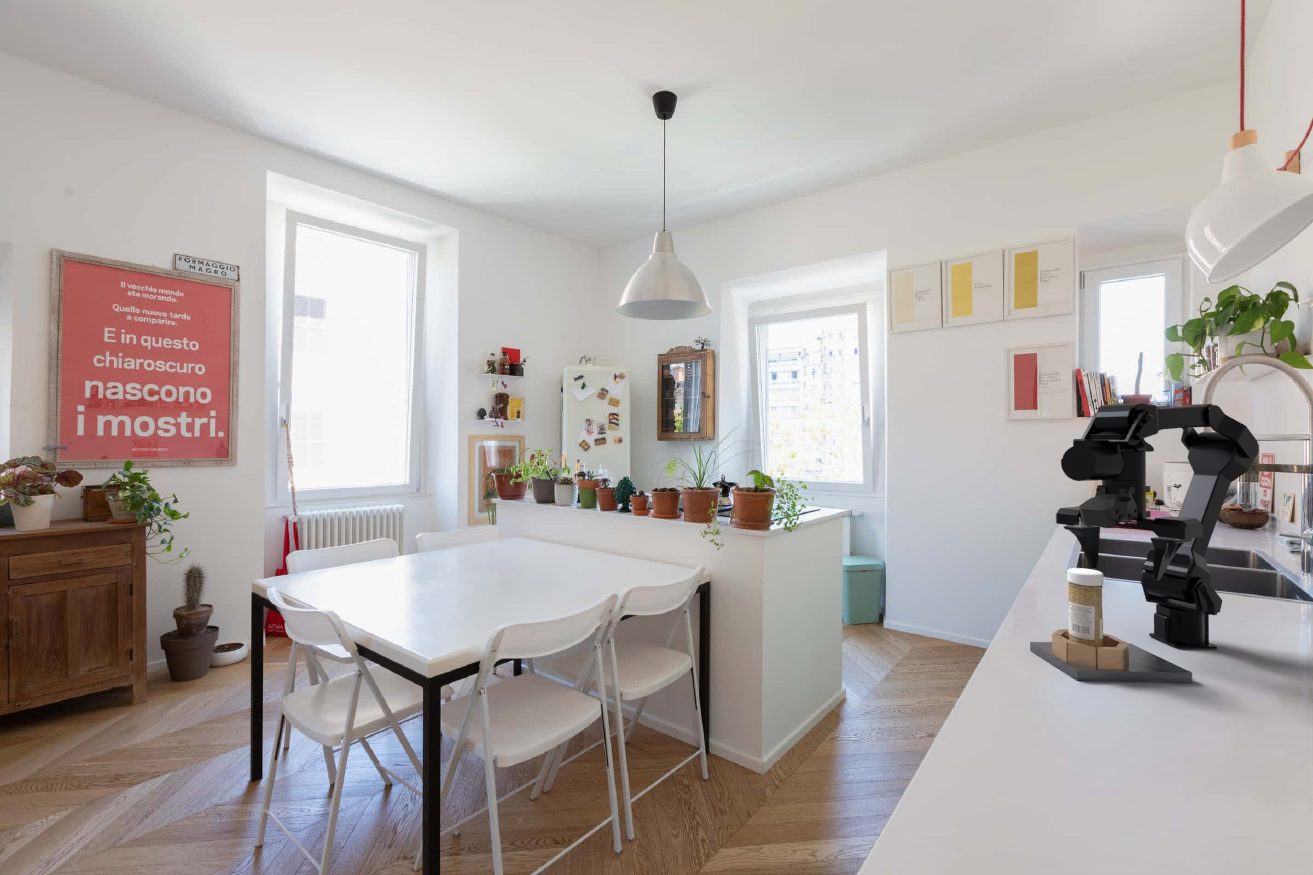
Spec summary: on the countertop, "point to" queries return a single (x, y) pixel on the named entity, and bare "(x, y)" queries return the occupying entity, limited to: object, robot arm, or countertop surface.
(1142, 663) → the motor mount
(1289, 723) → the countertop surface
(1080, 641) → the sprinkles bottle
